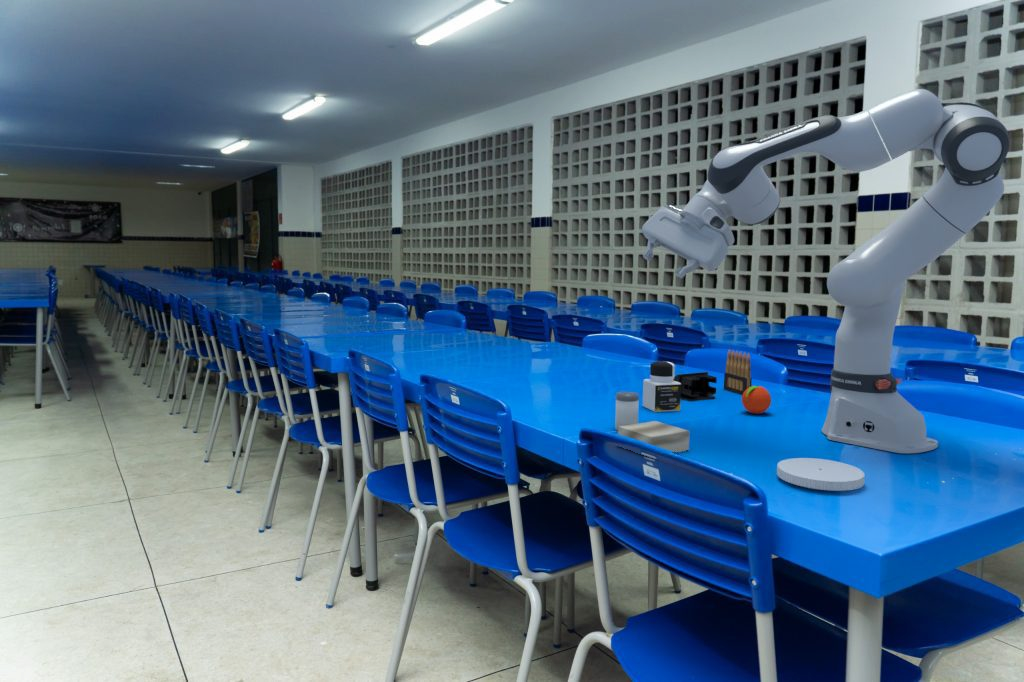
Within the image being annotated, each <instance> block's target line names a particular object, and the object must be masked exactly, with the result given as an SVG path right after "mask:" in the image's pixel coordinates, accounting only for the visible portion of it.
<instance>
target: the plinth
mask: <svg viewBox="0 0 1024 682" xmlns="http://www.w3.org/2000/svg"><path fill="white" fill-rule="evenodd" d="M618 434H619V435H622V436H626V437H629V438H633V439H636V440H639V441H643V442H645V443H648V444H651V445H654V446H657V447H660V448H663V449H666V450H669V451H673V452H676V453H675V454H677V452H678V453H682V451H683V452H687V451H686V450H688V451H689V450H690V430H688V429H685V428H680V427H677V426H674V425H671V424H667V423H663V422H660V421H657V420H651V421H647V422H646V421H645V422H640V423H639V422H638V424H632V425H625V426H619V427H618V430H617V435H618Z"/></svg>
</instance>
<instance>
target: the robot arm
mask: <svg viewBox="0 0 1024 682" xmlns="http://www.w3.org/2000/svg"><path fill="white" fill-rule="evenodd" d="M1010 142H1011V140H1010V135H1009V132H1008V129H1007V128H1006V126H1005V125H1004V124H1003V123H1002V122H1001V121H1000V120H999V118H998V117H997V116H996V115H995V114H993V112H991V111H989V110H987V109H985V108H983V107H982V106H980V105H978V104H975V103H970V102H941V100H940V99H939V98H938V96H937V95H936V94H934V93H933V92H931V91H930V90H928V89H925V88H917V89H913V90H912V89H911V90H909V91H907V92H904V93H901V94H898V95H896V96H893V97H890V98H888V99H885V100H883V101H881V102H879V103H876V104H875V105H873V106H870V107H869V108H866V109H864V110H862V111H860V112H858V113H854V114H851V115H847V116H846V115H845V116H835V115H832V114H824V115H821V116H817V117H812V118H810V119H807V120H804V121H801V122H798V123H796V124H793V125H790V126H787V127H785V128H783V129H779V130H778V131H775V132H772V133H769V134H767V135H764V136H762V137H759V138H756V139H753V140H750V141H746V142H742V143H738V144H732V145H729V146H726V147H724V148H721V150H718V152H716V153H715V155H714V156H713V158H712V160H710V163H709V166H708V171H707V179H706V181H705V182H704V183H703V186H702V188H701V189H700V191H698V192H697V193H696V194H694V195H693V197H691V199H690V200H689V201H688V203H687V204H686V205H685V206H684V208H683V209H681V208H677V207H675V206H674V205H672V204H668V205H663V206H661V207H660V208H658V210H657V211H656V212H655V213H654V214H653V215H652V216H650V217H649V218H648V219H647V220H646V222H644V224H643V225H642V227H641V232H642V235H643V236H644V237H645V238H646V239H647V240H648V241H647V244H646V245H647V246H646V250H645V251H644V252H643V253H642V257H643V259H645V260H647V261H649V262H650V261H651V260H652V259H653V258H654V256H655V254H654V253H653V250H654V249H655V248H657V247H658V246H660V247H662V248H664V249H665V250H668V251H670V252H672V253H674V254H676V255H677V256H679V257H681V258H683V259H685V260H687V261H688V263H689V264H688V263H687V264H686V265H685V266H683V267H681V266H680V265H679V266H678V268H677V269H676V270H675V271H674V275H675V276H676V277H678V278H680V279H683V278H684V277H685V276H686V275H687V274H689V273H691V272H694V271H695V270H698V268H699V267H701V268H702V269H704V270H706V271H708V272H713V271H715V270H717V269H718V268H719V266H720V265H721V264H722V262H723V261H724V260H725V258H726V256H727V255H728V252H729V247H732V245H733V244H734V243H735V237H734V234H733V232H732V229H731V228H730V226H729V224H728V223H727V221H726V220H727V219H728V218H729V217H733V218H734V219H735V220H737V221H738V222H741V223H743V224H745V225H748V226H749V225H751V226H754V225H755V226H756V225H761V224H763V223H765V222H767V221H768V220H769V219H770V218H771V217H772V216H774V214H775V213H777V210H778V208H779V207H780V203H781V198H780V197H781V196H780V194H779V193H778V191H777V188H776V186H775V185H774V184H773V183H772V181H771V178H769V177H768V175H767V174H766V172H765V171H764V168H763V166H766V165H769V164H772V163H775V162H778V161H781V160H782V159H786V158H788V157H792V156H794V155H797V154H800V153H807V152H808V153H814V154H817V155H820V156H822V157H824V158H826V159H827V160H829V161H831V162H832V163H833V164H835V165H837V166H838V167H840V168H842V169H845V170H848V171H852V172H860V173H861V172H866V171H871V170H873V169H876V168H878V167H881V166H883V165H884V164H887V163H889V162H891V161H893V160H895V159H897V158H899V157H900V156H903V155H904V154H907V153H908V152H912V151H916V150H923V149H927V150H932V152H933V154H934V156H935V157H936V158H937V159H938V161H940V162H941V163H942V164H943V165H944V167H945V168H944V171H943V173H942V175H941V177H940V178H939V179H938V180H937V182H936V183H935V184H934V185H933V186H932V187H930V188H929V189H928V190H927V191H926V192H925V193H923V194H922V196H920V197H919V198H918V199H917V200H916V201H914V203H913V204H911V205H910V206H909V207H908V208H906V210H905V211H904V212H903V213H901V215H899V216H898V217H897V218H896V219H895V220H894V221H892V222H891V223H890V224H889V225H888V226H886V227H885V228H884V229H882V230H881V231H880V232H878V233H877V234H876V235H874V236H872V237H871V238H870V239H868V240H867V241H866V242H865V243H863V244H862V245H860V246H859V247H858V248H856V249H855V250H854V251H852V253H850V254H849V255H848V256H846V258H845V257H844V259H842V260H840V261H839V262H838V263H836V264H835V265H834V266H833V267H832V268H831V269H830V271H829V273H828V275H827V278H826V287H827V290H828V291H827V292H828V294H829V296H830V297H831V298H832V299H833V300H834V301H835V302H836V303H838V304H840V305H842V306H844V311H843V314H842V318H841V321H840V324H839V327H838V328H837V330H836V334H835V340H834V341H835V342H834V344H835V345H834V355H833V368H832V369H831V373H830V382H829V383H830V385H829V386H830V393H831V395H830V400H829V403H828V404H829V405H828V409H827V414H826V418H825V421H824V424H823V427H822V429H821V433H823V434H824V435H826V437H827V439H828V440H830V441H833V442H834V441H835V442H838V443H839V442H840V443H844V444H851V445H854V446H860V447H864V448H870V449H876V450H881V451H887V452H892V453H896V454H919V453H924V452H925V453H926V452H930V451H933V450H935V449H937V448H938V447H939V441H938V440H936V439H935V438H930V437H927V426H926V422H925V417H924V414H922V413H921V412H920V411H919V410H917V408H915V406H914V405H912V404H911V403H910V402H909V401H908V400H906V399H905V398H904V397H903V396H902V395H901V394H900V393H899V392H898V388H897V386H898V385H901V384H902V383H903V382H901V381H903V378H895V377H894V376H893V373H891V367H892V366H891V365H892V350H893V339H894V334H895V333H894V332H895V328H896V324H897V320H898V316H899V311H900V308H901V307H900V306H901V302H902V296H903V292H904V290H905V287H906V284H907V280H908V279H909V278H911V277H912V276H913V275H915V274H916V273H917V272H919V271H921V270H922V269H924V268H925V267H926V266H928V265H929V264H932V263H933V262H934V261H935V260H937V258H940V256H942V254H944V253H945V252H946V251H947V250H948V249H950V248H952V246H954V245H955V244H956V243H957V242H958V241H960V239H962V238H963V237H964V236H965V235H966V234H967V233H969V232H970V231H971V230H972V229H973V228H974V227H975V226H976V225H977V224H978V223H980V222H981V220H983V218H985V217H986V215H988V214H989V212H990V211H992V209H993V208H994V206H996V205H997V203H998V202H999V201H1000V199H1001V198H1002V197H1003V195H1004V191H1005V185H1004V180H1003V178H1002V177H1001V175H1000V170H1001V168H1002V165H1003V163H1004V162H1005V159H1006V158H1007V156H1008V153H1009V149H1010V146H1011V145H1010Z"/></svg>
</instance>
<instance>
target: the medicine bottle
mask: <svg viewBox="0 0 1024 682" xmlns="http://www.w3.org/2000/svg"><path fill="white" fill-rule="evenodd" d="M649 365H650V370H649V372H650V373H649V378H645V379H643V386H642V406H643V408H646V409H647V410H650V411H652V412H654V413H660V412H663V413H664V412H679V411H680V410H681V400H682V399H681V383H679V382H676V381H674V380H673V379H674V377H675V376H676V375H675V371H676V365H675V364H674V363H673V362H670V361H665V360H664V361H662V360H658V361H653V362H651V363H650V364H649Z"/></svg>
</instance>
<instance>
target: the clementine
mask: <svg viewBox="0 0 1024 682" xmlns="http://www.w3.org/2000/svg"><path fill="white" fill-rule="evenodd" d="M741 403H742V406H743V407H744V409H745V410H746V411H748V412H749V413H751V414H756V415H758V414H763V413H765V412H766V411H767V410H768V409H769V408H770V407H771V403H772V397H771V394H770V392H769V391H768V390H767V389H766V388H765V387H764V386H761V385H751V387H749V388H747V389H746V390H745V391H744V393H743V395H741Z"/></svg>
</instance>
